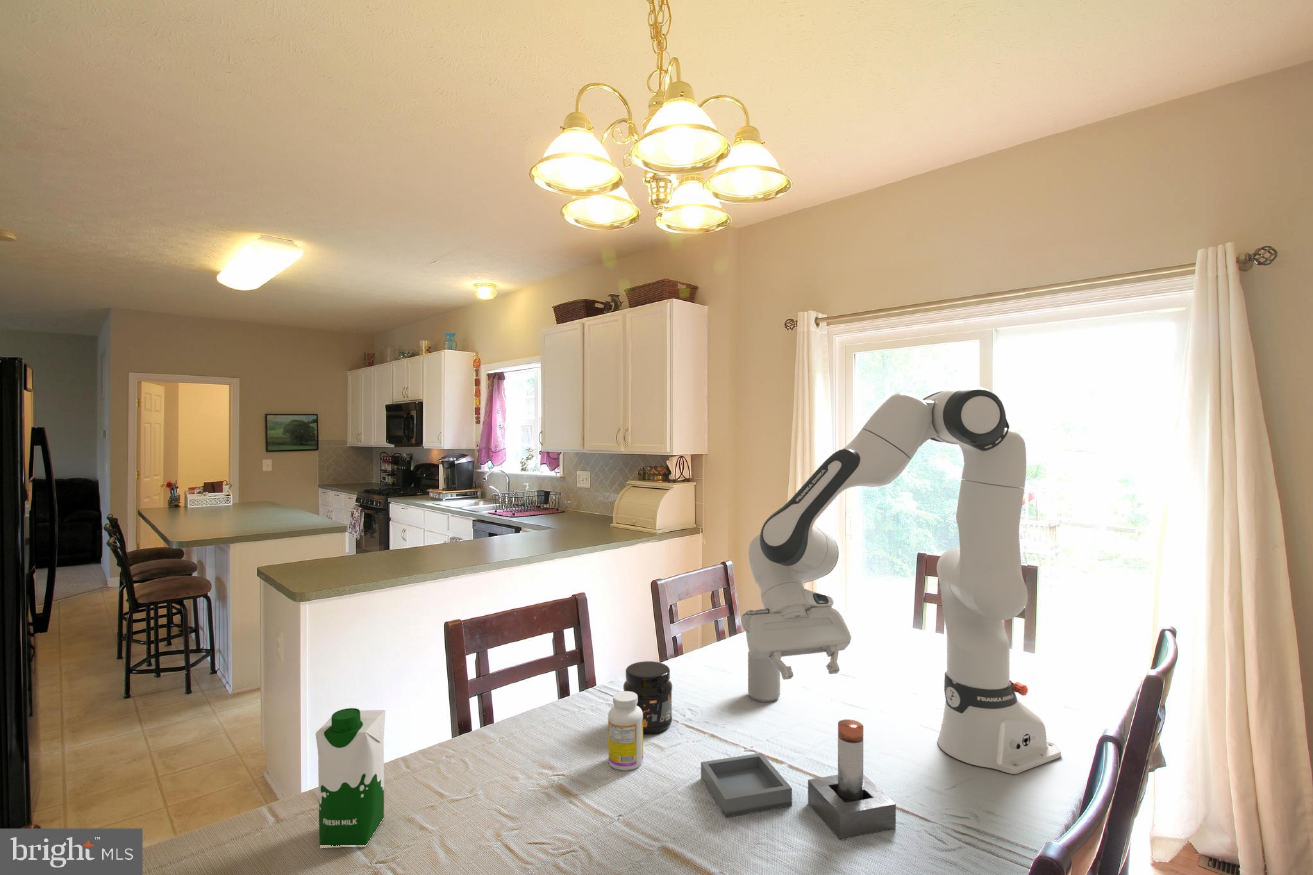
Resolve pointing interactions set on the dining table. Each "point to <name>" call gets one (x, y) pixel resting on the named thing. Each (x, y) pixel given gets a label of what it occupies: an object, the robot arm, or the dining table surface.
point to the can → (763, 679)
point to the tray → (745, 784)
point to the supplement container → (651, 693)
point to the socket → (851, 808)
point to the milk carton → (351, 776)
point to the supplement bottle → (625, 732)
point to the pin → (850, 760)
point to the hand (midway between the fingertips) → (811, 675)
